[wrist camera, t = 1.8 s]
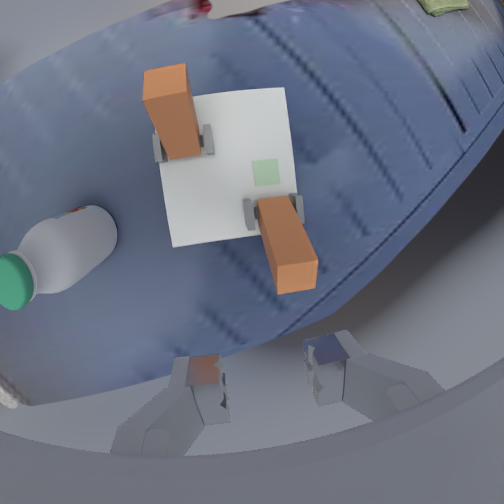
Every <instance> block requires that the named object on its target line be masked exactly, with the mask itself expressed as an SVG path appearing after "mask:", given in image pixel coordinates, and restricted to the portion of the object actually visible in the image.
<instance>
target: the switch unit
mask: <svg viewBox="0 0 504 504" xmlns="http://www.w3.org/2000/svg"><path fill="white" fill-rule="evenodd" d="M192 97H193V102H194V107H195V112H196V116H197V121H198V126H199V133H200V135H202V136H203V143H204V147H201V154H202V155H196V156H190V157H184V158H179V159H173V160H169V157H168V155H167V153H166V151H165V149H164V147H163V145H162V142H161V140H160V138H159V136H158V134H157V132H156V129H155V132H156V133H154V134H152V140H153V148H154V156H155V162H157V163H159V165H160V173H161V180H162V187H163V193H164V200H165V206H166V212H167V218H168V224H169V229H170V235H171V240H172V246H173V247H179V246H185V245H192V244H199V243H205V242H212V241H219V240H226V239H233V238H240V237H247V236H254V235H261V233H260V229H259V226H258V219H256V218H255V213H254V207H257V199H264V198H272V197H280V196H288V197H289V199H290V201H291V203H292V205H293V207H294V209H295V211H296V213H297V215H298V217H299V219H300V221H301V223H302V224H304V223H305V219H304V207H303V196H302V195H300V194H297V187H296V177H295V168H294V159H293V151H292V142H291V134H290V127H289V119H288V112H287V105H286V98H285V91H284V88H265V89H251V90H240V91H230V92H222V93H214V94H207V95H200V96H192Z"/></svg>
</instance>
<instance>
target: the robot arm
mask: <svg viewBox="0 0 504 504" xmlns="http://www.w3.org/2000/svg"><path fill="white" fill-rule="evenodd" d="M304 352H305V354H306V356H307V357H306V358H305V360H304V365H305V373H306V378H307V381H308V383H309V385H310V386H312V387H313V396H314V398H315V400H316V403H317V405H318V407H320V406H324V405H329V404H333V403H337V402H341V401H343V403H345V404H347V405H348V406H350V407H351V408H353V409H355V410H356V411H358V412H360V413H361V414H363V415H365V416H366V417H368V418H369V419H371V420H373V422H370V423H367V424H364V425H361V426H357V427H354V428H351V429H348V430H344V431H341V432H337V433H334V434H330V435H326V436H322V437H319V438H314V439H310V440H306V441H301V442H297V443H292V444H287V445H282V446H276V447H271V448H264V449H258V450H251V451H243V452H235V453H226V454H213V455H199V456H184V455H185V454H186V452H187V451H188V449H189V448H190V447H191V445H192V444H193V443H194V441H195V440H196V438H197V437H198V436H199V434H200V433H201V431H202V430H203V429H204V426H206V425H214V424H223V423H229V422H230V412H229V405H228V399H229V397H228V388H227V382H226V377H225V374H224V373H223V365H222V360H221V356H220V353H219V354H210V355H199V356H191V357H189V356H188V357H178V358H175V360H174V363H173V368H172V373H171V378H170V383H169V388H164V389H163V390H162V391H161V392H159V393H158V394H157V395H156V396H155V397H154V398H152V399H151V400H150V401H149V402H148V403H146V404H145V405H144V406H143V407H142V408H141V409H139V410H138V411H137V412H136V413H135V414H133V415H132V416H131V417H130V418H128V419H127V420H126V421H125V422H124V423H122V424H121V425H120V426H119V427H118V428H117V431H116V434H115V437H114V440H113V444H112V448H111V450H110V454H109V453H100V452H91V451H84V450H78V449H72V448H66V447H61V446H56V445H51V444H46V443H42V442H38V441H33V440H29V439H25V438H22V437H18V436H15V435H12V434H8V433H5V432H2V431H0V504H504V357H503V358H502V359H500V360H499V361H497V362H495V363H494V364H492V365H491V366H489V367H487V368H486V369H484V370H483V371H481V372H479V373H477V374H476V375H474V376H472V377H471V378H469V379H467V380H465V381H463V382H461V383H460V384H458V385H456V386H454V387H452V388H450V389H448V390H446V391H445V390H444V389H443V388H442V387H441V386H440V385H439V384H438V383H437V381H436V380H435V379H434V378H433V377H432V376H431V375H430V374H429V373H428V372H426V371H423V370H420V369H417V368H414V367H410V366H407V365H404V364H401V363H398V362H395V361H392V360H389V359H386V358H383V357H380V356H377V355H374V354H371V353H368V354H365V352H364V351H363V350H362V349H361V347H360V346H359V345H358V343H357V342H356V341H355V339H354V338H353V337H352V336H351V334H350V333H349V332H348V331H347V330H342V331H339V332H335V333H332V334H328V335H324V336H320V337H315V338H311V339H306V340H304Z"/></svg>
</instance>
